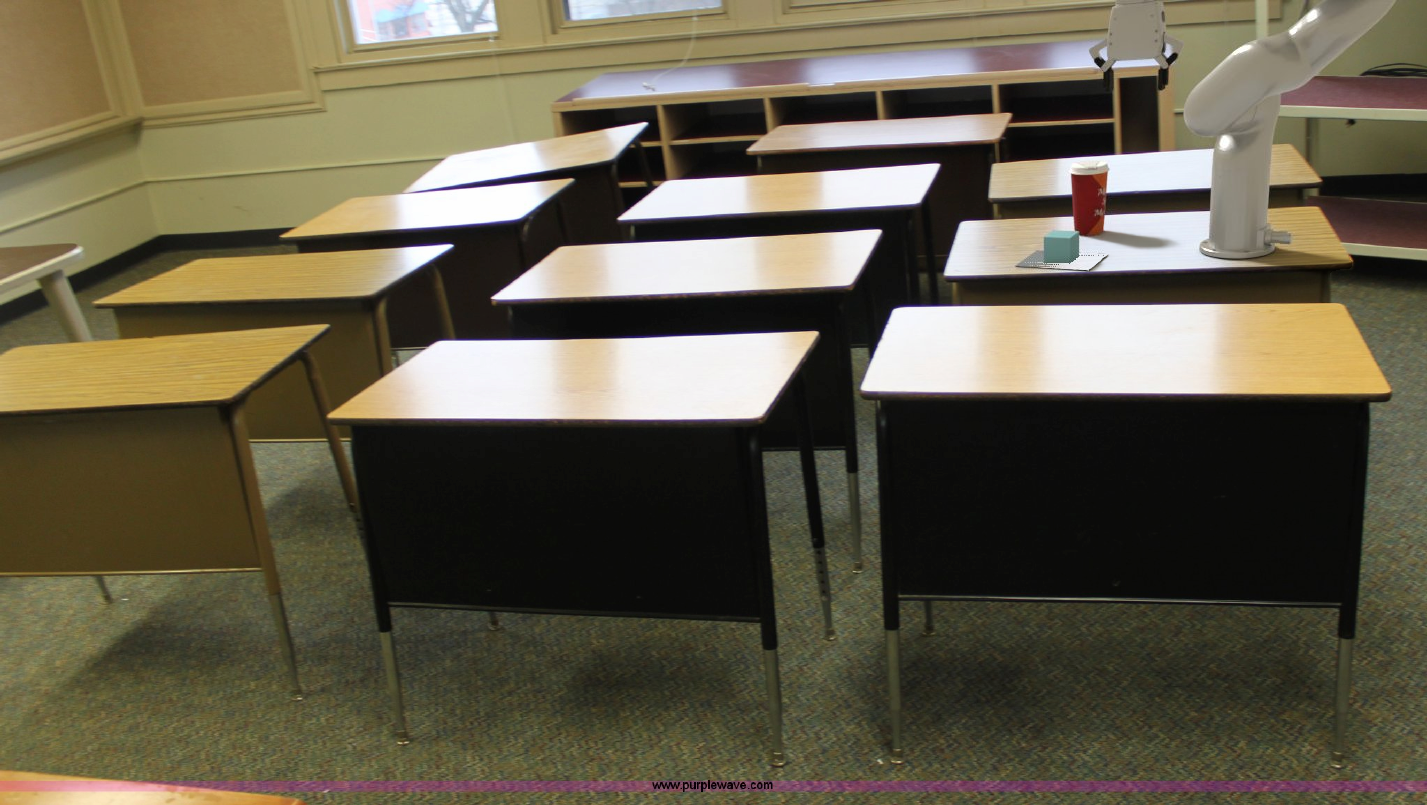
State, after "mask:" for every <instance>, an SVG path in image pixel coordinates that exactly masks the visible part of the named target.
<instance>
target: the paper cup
mask: <svg viewBox="0 0 1427 805" xmlns="http://www.w3.org/2000/svg"><path fill="white" fill-rule="evenodd" d="M1108 166H1109V165H1108V163H1107V161H1103V160H1086V161H1085V160H1084V161H1079V162H1074V163H1072V164H1071V166H1070V169H1069V173H1070V182H1071V195H1072V196H1071V198H1072V199H1071V200H1072V215H1073V226H1074V227H1073V229H1074V230H1073V231H1079V236H1081V235H1085V236H1084V237H1089V236H1088V235H1093V236H1098V235H1102V234H1103V232H1104V228H1105V215H1106V203H1107V191H1108V190H1107V187H1108V176H1109V175H1108V174H1109V171H1110V168H1109V167H1108ZM1086 235H1087V236H1086Z"/></svg>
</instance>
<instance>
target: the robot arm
mask: <svg viewBox="0 0 1427 805" xmlns="http://www.w3.org/2000/svg"><path fill="white" fill-rule="evenodd" d="M1396 1H1397V0H1321V1H1319V3H1317V4H1315V6H1313V7H1312V8H1311V9H1310V10H1309V11H1308V12H1307V13H1306V14H1305V15H1303V17H1302V18H1301V17H1300V19H1299V20H1298V21H1296V22H1295V23H1294V24H1293V25H1291V26H1290V27H1289V28H1288V29H1286V30H1284V31H1283V32H1280V33H1277V34H1274V35H1271V36H1270V35H1269V36H1266V37H1262V38H1257V39H1254V40H1251V41H1248V42H1246V43H1245V44H1243V45H1241V46H1239V47H1237V49H1235V50H1233V51H1232V52H1231V53H1230V54H1229V55H1227V57H1225V59H1223V61H1222V62H1220V63H1219V64H1218V65H1217V66H1216V67H1214V68H1213V70H1212V71H1211V72H1210V73H1208V74H1207V75H1206V76H1205V77H1204V78H1202V80H1201V81H1200V82H1199V83H1197V85H1195V87H1194V88H1193V89H1192V90H1191V91H1190V93H1189V94H1188V96H1187V97H1186V101H1185V103H1184V105H1183V121H1184V124H1185V125H1186V128H1188V129H1189V131H1190V132H1191V133H1192V134H1194V135H1196V136H1199V137H1201V138H1202V137H1203V138H1209V139H1210V138H1216V141H1215V144H1214V148H1213V154H1212V163H1211V164H1212V165H1211V186H1210V188H1211V189H1210V207H1209V224H1208V225H1209V226H1208V227H1209V229H1208V238H1207V239H1204V240H1202V241H1201V242H1200V243H1199V252H1201V253H1202V254H1204V255H1206V256H1210V257H1214V258H1218V259H1219V258H1221V259H1233V260H1234V259H1252V258H1259V257H1262V256H1267V255H1269V254H1271V253H1273V252H1274V251H1275V248H1276V244H1280V245H1292V242H1293V236H1294V235H1293V233H1291V232H1290V233H1289V231H1288V230H1286V231H1285V230H1279V231H1278V230H1274V229H1273V228H1272V222H1268V211H1269V194H1270V179H1271V178H1270V177H1271V164H1272V152H1273V141H1274V135H1275V131H1276V130H1275V129H1276V125H1277V122H1278V118H1279V114H1280V110H1281V104H1282V103H1281V101H1282V94H1284V93H1288V92H1291V91H1292V92H1293V91H1294V90H1297V89H1299V88H1301V87H1303V86H1304V85H1306V84H1307V83H1309V81H1311V79H1313V78H1315V76H1316V75H1318V74H1319V73H1320V72H1321V71H1322V70H1324V69H1325V67H1327V66H1328V65H1330V64H1331V63H1332V62H1333V61H1334V60H1336V59H1337V58H1338V57H1339V56H1341V55H1342V54H1343V53H1344V52H1345V51H1346V50H1347V49H1348V48H1349V47H1350V46H1352V44H1354V43H1355V42H1357V40H1358V39H1360V38H1361V37H1363V36H1364V35H1365V34H1366V33H1367V32H1369V30H1370V29H1372V28H1373V27H1374V26H1375V25H1377V23H1379V22H1380V21H1381V20H1382V19H1383V18H1384V16H1386V14H1388V12H1390V10H1391V9H1392V7H1393V5H1394V4H1395V3H1396ZM1167 45H1170V46H1172V47H1173V51H1172V52H1171V54H1170V55H1169V56H1167V55H1166V54H1165V53H1166V52H1167ZM1185 45H1186V42H1185V41H1183V40H1181V39H1179V38H1176V37H1174V36H1172V35H1170V34H1168V33H1167V23H1166V11H1165V4H1164V2H1163V1H1159V0H1115V5H1114V6H1112V7H1111V11H1110V17H1109V22H1108V28H1107V38H1105V39H1104V40H1102V41H1101V42H1098V43H1097V44H1095V45H1094V46H1092V47H1090V48H1089V49H1088V52H1089V54H1090V56H1091V59H1092V60H1093V62H1094V64H1095V65H1096V66H1097V67H1098V68H1099V69H1100V70H1101V72H1102V73H1103V76H1102V78H1103V80H1102V87H1103V89H1105V93H1106V94H1109V93H1111V92H1113V91H1114V90H1115V89H1114V88H1115V87H1114V86H1115V83H1114V82H1115V78H1114V77H1115V74H1114V73H1115V70H1114V69H1113V66H1114V65H1115V63H1116V62H1124V61H1126V62H1127V61H1141V60H1153V59H1154V60H1155V61H1156V62H1157V64H1159V66H1160V67H1159V69H1158V70H1157V90H1158V91H1159V92H1160V91H1163V90H1165V89H1166V86H1169V82H1170V81H1169V77H1170V76H1169V74H1170V73H1169V72H1170V66H1172V64H1173V63H1175V61H1176V60H1177V59H1178V58H1179V57H1180V55H1181V53H1182V51H1183V49H1184V47H1185ZM1104 48H1106V56H1107V59H1106V60H1105V59H1104V58H1103V57H1102V56H1101V53H1100V51H1101V50H1102V49H1104Z"/></svg>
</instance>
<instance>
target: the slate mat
mask: <svg viewBox="0 0 1427 805" xmlns="http://www.w3.org/2000/svg"><path fill="white" fill-rule="evenodd" d="M1079 256H1080V255H1079ZM1081 256H1083V255H1081ZM1084 256H1085V255H1084ZM1086 256H1087V255H1086ZM1088 256H1090V255H1088ZM1091 256H1092V255H1091ZM1093 256H1094V255H1093ZM1098 256H1099V255H1098ZM1103 256H1104V255H1103ZM1025 262H1026V263H1025ZM1028 262H1029V263H1028ZM1030 262H1031V263H1030ZM1032 262H1033V263H1032ZM1035 262H1036V263H1035ZM1037 262H1043V263H1044V250H1040V249H1038V250H1034V252H1032V253H1031V254H1030V255H1028V256H1027V257H1025V258H1024V259H1023V260H1021V261H1019V262H1018V263H1017V264H1016V265H1015V266H1017V267H1016V268H1027V267H1050V266H1046V265H1053V264H1047V263H1046V264H1045V263H1044V264H1043V263H1037ZM1030 265H1031V266H1030ZM1032 265H1033V266H1032ZM1037 265H1038V266H1037ZM1039 265H1045V266H1039ZM1054 265H1055V264H1054ZM1056 265H1057V264H1056ZM1058 265H1059V264H1058ZM1018 266H1019V267H1018ZM1051 267H1052V266H1051ZM1053 267H1054V266H1053ZM1055 267H1056V266H1055Z"/></svg>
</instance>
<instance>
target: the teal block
mask: <svg viewBox="0 0 1427 805" xmlns="http://www.w3.org/2000/svg"><path fill="white" fill-rule="evenodd" d="M1043 251H1044V263H1069V264H1070V263H1071V262H1073V261H1074V260H1076V258H1078V257H1079V253H1080V235H1079V231H1075V230H1057V229H1056V230H1054V229H1053V230H1052V231H1051V232H1049V233H1047V234H1046V235H1044V236H1043Z"/></svg>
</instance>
